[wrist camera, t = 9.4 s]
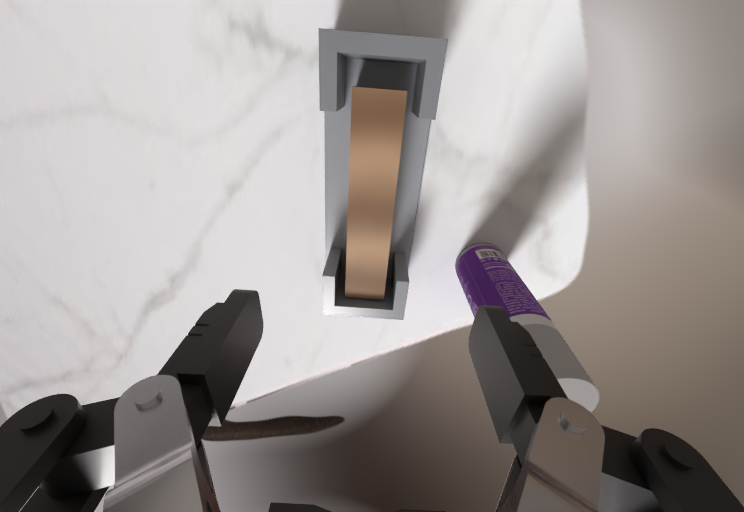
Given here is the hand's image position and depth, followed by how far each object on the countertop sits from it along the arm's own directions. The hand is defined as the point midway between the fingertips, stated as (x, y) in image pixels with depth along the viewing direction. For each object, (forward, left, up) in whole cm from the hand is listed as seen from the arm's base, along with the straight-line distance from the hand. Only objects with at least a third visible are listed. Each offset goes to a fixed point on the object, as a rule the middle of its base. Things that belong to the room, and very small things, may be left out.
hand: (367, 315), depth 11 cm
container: (+7, +11, -17) cm, 22 cm away
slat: (+1, 0, -16) cm, 16 cm away
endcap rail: (0, 0, -17) cm, 17 cm away
